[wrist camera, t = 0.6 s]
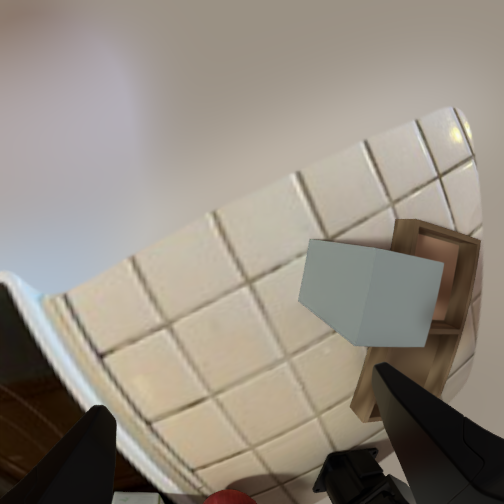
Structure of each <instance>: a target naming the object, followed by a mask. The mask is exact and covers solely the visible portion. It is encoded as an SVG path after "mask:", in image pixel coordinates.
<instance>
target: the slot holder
mask: <svg viewBox="0 0 504 504" xmlns="http://www.w3.org/2000/svg"><path fill="white" fill-rule="evenodd" d="M480 243H481V240H478V239H475V238H472V237H470V236H467V235H464V234H461V233H458V232H455V231H452V230H449V229H446V228H443V227H440V226H437V225H433V224H430V223H427V222H424V221H421V220H417V219H395V226H394V233H393V239H392V246H391V251H393V252H397V253H402V254H407V255H411V256H416V257H420V258H425V259H429V260H434V261H438V262H442V263H444V267H443V272H442V277H441V282H440V287H439V292H438V297H437V301H436V305H435V309H434V313H433V317H432V321H431V325H430V329H429V332H428V336H427V339H426V343H425V346H424V347H369V348H368V352H367V355H366V359H365V362H364V365H363V369H362V372H361V375H360V378H359V381H358V384H357V387H356V390H355V393H354V396H353V399H352V402H351V405H350V408H351V409H352V410H353V411H354V413H355V414H356V415H357V416H358V418H359V419H360V420H361V421H362V422H363V423H366V422H375V421H382V418H381V415H380V411H379V408H378V405H377V401H376V398H375V395H374V392H373V389H372V384H371V379H372V370H373V366H374V365H375V364H378V363H381V362H387V363H389V364H390V365H392V366H393V367H394V368H396V369H397V370H399V371H400V372H402V373H403V374H404V375H406V376H407V377H409V378H410V379H412V380H413V381H415V382H416V383H417V384H419V385H420V386H422V387H423V388H425V389H426V390H427V391H429V392H430V393H432V394H433V395H435V396H436V397H438V398H440V396H441V393H442V391H443V388H444V385H445V383H446V380H447V377H448V375H449V372H450V369H451V366H452V363H453V360H454V357H455V354H456V351H457V348H458V345H459V341H460V338H461V335H462V331H463V328H464V324H465V320H466V316H467V312H468V308H469V304H470V300H471V295H472V290H473V285H474V280H475V275H476V269H477V264H478V257H479V250H480Z"/></svg>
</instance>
